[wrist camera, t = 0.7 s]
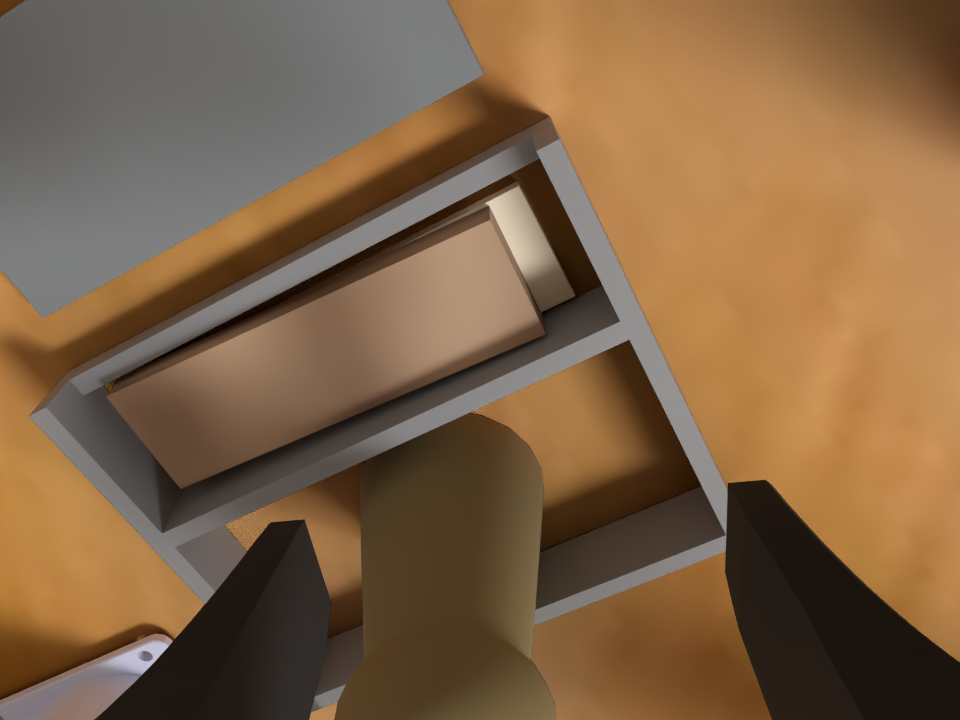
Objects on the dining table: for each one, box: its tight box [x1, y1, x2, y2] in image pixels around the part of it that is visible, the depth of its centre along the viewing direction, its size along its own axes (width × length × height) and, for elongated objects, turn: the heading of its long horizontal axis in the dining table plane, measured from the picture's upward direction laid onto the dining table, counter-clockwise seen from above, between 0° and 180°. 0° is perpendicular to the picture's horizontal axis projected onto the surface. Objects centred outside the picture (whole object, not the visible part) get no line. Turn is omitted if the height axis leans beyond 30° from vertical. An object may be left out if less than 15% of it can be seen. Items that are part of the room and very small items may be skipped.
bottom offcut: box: [288, 181, 575, 312], centre depth 24 cm, size 13×4×1 cm, turn 118°
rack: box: [29, 116, 728, 712], centre depth 25 cm, size 16×14×2 cm
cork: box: [335, 414, 557, 720], centre depth 22 cm, size 6×6×11 cm
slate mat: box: [0, 0, 484, 318], centre depth 21 cm, size 14×6×1 cm, turn 118°
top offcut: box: [106, 206, 546, 489], centre depth 23 cm, size 12×4×1 cm, turn 116°
